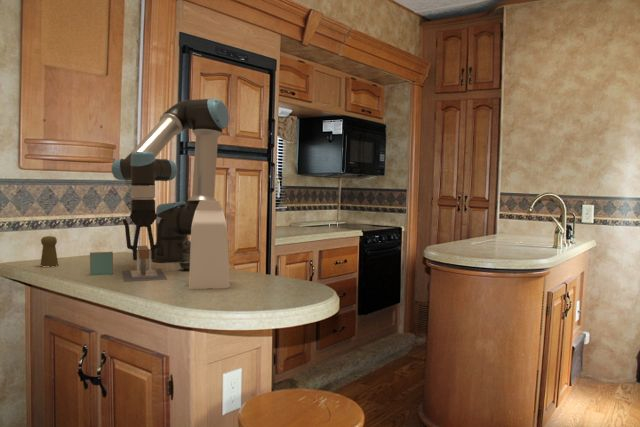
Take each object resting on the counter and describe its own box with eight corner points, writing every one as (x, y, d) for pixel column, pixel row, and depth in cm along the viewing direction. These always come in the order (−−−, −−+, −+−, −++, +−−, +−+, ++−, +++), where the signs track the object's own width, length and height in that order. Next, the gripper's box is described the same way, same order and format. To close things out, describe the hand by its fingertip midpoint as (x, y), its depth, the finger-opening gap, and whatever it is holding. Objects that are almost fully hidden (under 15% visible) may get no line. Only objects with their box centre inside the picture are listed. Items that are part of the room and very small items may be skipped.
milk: (188, 289, 162) (188, 201, 160) (190, 282, 173) (190, 200, 172) (229, 288, 164) (229, 201, 163) (228, 281, 175) (228, 200, 174)
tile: (112, 275, 184) (112, 251, 184) (113, 275, 183) (112, 252, 182) (90, 276, 182) (90, 252, 181) (90, 277, 180) (89, 252, 180)
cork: (53, 267, 199) (52, 237, 198) (36, 267, 199) (36, 237, 198) (61, 264, 205) (61, 235, 204) (45, 264, 205) (45, 235, 204)
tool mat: (160, 270, 194) (160, 268, 194) (167, 281, 174) (167, 279, 174) (121, 272, 189) (121, 270, 189) (124, 283, 169) (124, 281, 169)
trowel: (130, 271, 188) (129, 246, 187) (154, 270, 190) (154, 245, 190) (132, 279, 174) (131, 251, 173) (158, 277, 177) (158, 250, 176)
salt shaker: (198, 270, 195) (197, 237, 195) (192, 273, 189) (192, 238, 189) (182, 270, 196) (181, 236, 195) (176, 272, 190) (175, 238, 189)
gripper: (167, 198, 186) (167, 266, 187) (116, 198, 180) (117, 269, 181) (169, 199, 179) (170, 270, 180) (117, 199, 173) (118, 272, 175)
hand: (143, 269), depth 181 cm, fingers closed on trowel, 3 cm apart
